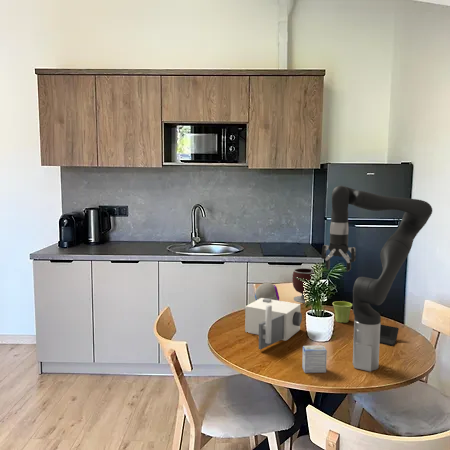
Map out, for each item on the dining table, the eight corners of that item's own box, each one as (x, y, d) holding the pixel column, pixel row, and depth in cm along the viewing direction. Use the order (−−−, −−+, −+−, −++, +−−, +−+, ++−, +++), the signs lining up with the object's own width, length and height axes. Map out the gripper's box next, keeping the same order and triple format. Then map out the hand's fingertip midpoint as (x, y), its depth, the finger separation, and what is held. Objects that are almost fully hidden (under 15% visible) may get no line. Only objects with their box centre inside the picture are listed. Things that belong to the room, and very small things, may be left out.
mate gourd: (291, 302, 242) (291, 267, 239) (293, 295, 255) (293, 262, 253) (319, 304, 238) (320, 268, 236) (320, 297, 251) (320, 263, 249)
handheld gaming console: (366, 338, 184) (372, 317, 188) (366, 343, 190) (371, 322, 194) (394, 347, 179) (399, 325, 183) (394, 352, 185) (399, 330, 189)
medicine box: (323, 367, 160) (323, 345, 159) (326, 373, 155) (327, 350, 154) (301, 367, 159) (302, 345, 158) (304, 373, 155) (305, 350, 154)
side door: (290, 340, 183) (291, 299, 181) (267, 352, 171) (268, 307, 169) (281, 338, 186) (282, 297, 184) (258, 348, 174) (258, 305, 172)
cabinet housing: (290, 341, 184) (291, 312, 183) (245, 332, 196) (245, 304, 194) (304, 330, 198) (304, 302, 196) (260, 321, 209) (261, 295, 208)
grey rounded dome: (279, 315, 219) (280, 286, 218) (254, 314, 220) (254, 285, 219) (278, 307, 232) (279, 280, 231) (254, 307, 233) (255, 279, 232)
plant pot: (328, 320, 211) (328, 303, 210) (339, 316, 217) (340, 299, 217) (344, 325, 204) (344, 307, 203) (355, 321, 210) (356, 304, 209)
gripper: (358, 232, 184) (356, 270, 185) (325, 230, 191) (324, 266, 193) (353, 234, 177) (352, 273, 179) (320, 232, 185) (319, 269, 186)
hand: (337, 270), depth 186 cm, fingers open, 8 cm apart
